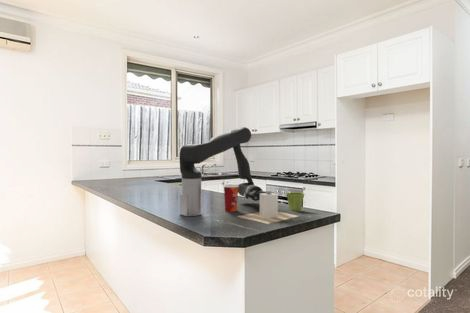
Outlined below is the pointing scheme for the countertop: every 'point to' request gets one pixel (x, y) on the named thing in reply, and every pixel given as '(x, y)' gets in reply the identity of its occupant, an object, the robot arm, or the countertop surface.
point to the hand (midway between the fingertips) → (263, 197)
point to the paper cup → (231, 196)
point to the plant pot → (295, 201)
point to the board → (267, 220)
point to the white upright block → (268, 205)
